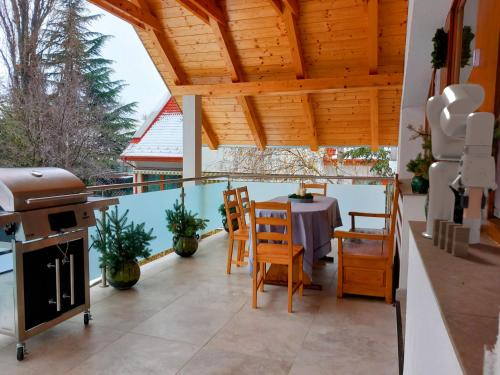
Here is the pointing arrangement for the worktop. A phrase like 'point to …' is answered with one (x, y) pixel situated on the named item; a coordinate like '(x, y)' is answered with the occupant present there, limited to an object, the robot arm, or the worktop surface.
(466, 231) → the domino
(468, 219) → the skincare box
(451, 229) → the domino
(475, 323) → the worktop surface
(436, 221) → the domino
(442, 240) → the domino
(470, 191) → the end tile
